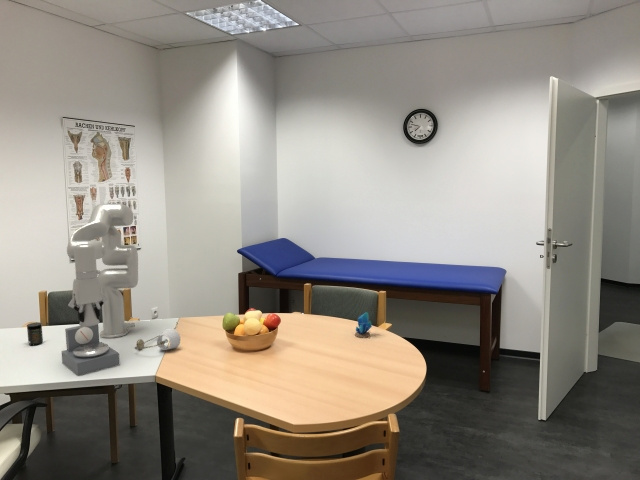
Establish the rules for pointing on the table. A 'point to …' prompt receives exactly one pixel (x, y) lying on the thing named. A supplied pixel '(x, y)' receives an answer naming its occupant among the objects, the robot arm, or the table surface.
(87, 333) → the scale
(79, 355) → the pan
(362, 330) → the gemstone
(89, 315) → the flask
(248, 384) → the table surface
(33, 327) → the supplement container
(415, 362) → the table surface
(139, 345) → the light fixture
